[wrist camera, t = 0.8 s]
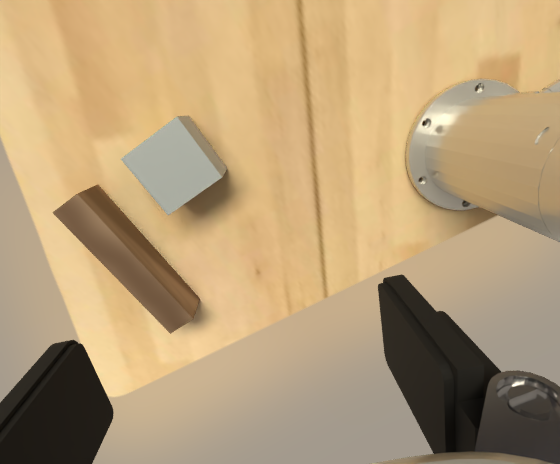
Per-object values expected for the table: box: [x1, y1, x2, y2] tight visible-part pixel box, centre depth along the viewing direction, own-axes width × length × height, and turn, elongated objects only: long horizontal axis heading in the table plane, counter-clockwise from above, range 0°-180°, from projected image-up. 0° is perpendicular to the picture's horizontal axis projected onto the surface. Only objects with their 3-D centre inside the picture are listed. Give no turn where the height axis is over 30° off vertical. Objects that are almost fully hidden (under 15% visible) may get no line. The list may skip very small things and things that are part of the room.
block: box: [121, 116, 227, 215], centre depth 31 cm, size 6×6×5 cm
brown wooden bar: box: [53, 185, 200, 334], centre depth 35 cm, size 3×16×4 cm, turn 34°
